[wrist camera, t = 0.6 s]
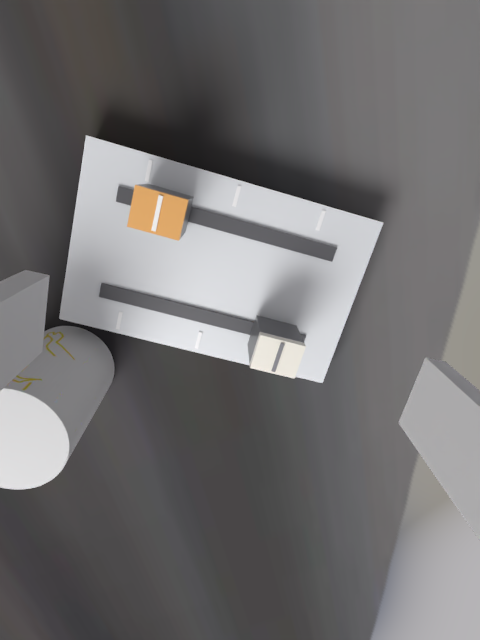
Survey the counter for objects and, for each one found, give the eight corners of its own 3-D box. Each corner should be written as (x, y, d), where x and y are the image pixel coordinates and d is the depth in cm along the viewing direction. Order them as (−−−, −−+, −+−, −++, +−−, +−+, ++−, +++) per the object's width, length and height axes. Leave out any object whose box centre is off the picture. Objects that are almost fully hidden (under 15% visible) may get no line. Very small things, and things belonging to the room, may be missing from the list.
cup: (83, 311, 38) (22, 368, 27) (130, 382, 41) (92, 462, 29) (10, 348, 39) (-79, 418, 28) (60, 415, 42) (-4, 505, 30)
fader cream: (256, 315, 36) (260, 335, 31) (296, 325, 36) (306, 346, 31) (247, 344, 36) (250, 368, 32) (286, 354, 37) (294, 379, 32)
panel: (95, 138, 33) (85, 135, 31) (373, 219, 36) (384, 222, 34) (69, 310, 38) (57, 319, 36) (317, 371, 41) (322, 384, 38)
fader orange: (147, 183, 32) (134, 184, 27) (193, 196, 32) (188, 200, 28) (140, 219, 33) (126, 226, 28) (185, 232, 33) (178, 240, 29)
